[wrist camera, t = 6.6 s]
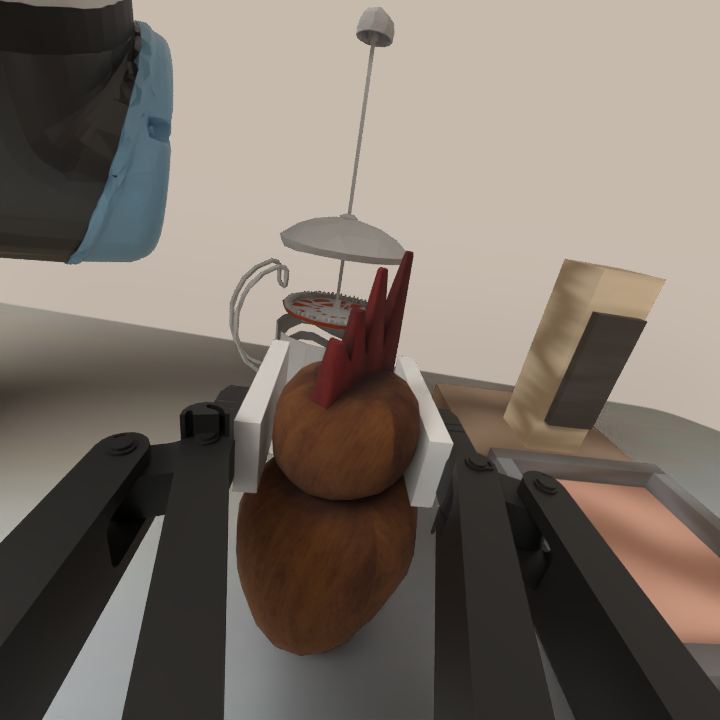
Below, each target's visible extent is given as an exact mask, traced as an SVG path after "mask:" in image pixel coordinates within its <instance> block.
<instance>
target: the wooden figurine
mask: <svg viewBox="0 0 720 720" xmlns="http://www.w3.org/2000/svg"><path fill="white" fill-rule="evenodd" d="M412 261H413V252H411V251H406V252H405V254H404V256H403V258H402V261H401V264H400V266H399V269H398V271H397V274H396V277H395V279H394V282H393V284H392V287H391V289H390V292H389V295H388V297H387V300H386V294H387V278H388V269H386V268H383V267H380V268H379V269H378V270H377V274H376V277H375V281H374V284H373V287H372V290H371V293H370V296H369V300H368V303H367V306H366V309H365V310H363V309H360V308H357V307H353V308H352V309H351V312H350V315H349V318H348V322H347V325H346V329H345V332H344V335H343V339H342V341H340V340H338V339H335V338H330V340H329V341H328V344H327V347H326V350H325V353H324V356H323V359H322V361H318V362H314V363H311V364H309V365H307V366H305V367H303V368H301V369H300V370H299V371H298V372H297V373H296V374H295V375H294V377H293V378H292V379H291V380H290V381H289V382H288V383H287V384H286V385H285V386H284V388H283V390H282V392H281V394H280V396H279V399H278V401H277V403H276V408H275V415H274V422H273V432H272V445H273V454H274V457H273V458H272V459H270V460H269V461H268V462H267V463H265V466H264V469H263V473H262V476H261V480H260V483H259V487H258V490H257V493H247V492H244V494H243V496H242V499H241V501H240V503H239V512H238V520H237V542H236V554H237V569H238V573H239V577H240V582H241V586H242V589H243V591H244V594H245V597H246V599H247V602H248V605H249V608H250V610H251V613H252V615H253V618H254V620H255V622H256V625H257V626H258V627H259V628H260V630H261V631H262V632H263V633H264V634H265V635H266V637H267V638H268V639H269V640H270V641H271V642H272V644H273V645H274V646H276V647H277V648H279V649H282V650H285V651H288V652H291V653H294V654H297V655H300V656H304V655H310V654H317V653H323V652H326V651H328V650H330V649H333V648H335V647H337V646H339V645H341V644H343V643H345V642H346V641H347V640H348V639H349V638H351V637H352V636H353V635H354V634H355V633H356V632H357V631H358V630H359V629H360V628H361V627H362V626H364V625H365V624H366V623H367V622H369V621H370V620H371V619H372V618H373V617H374V615H375V614H376V613H377V612H378V611H379V610H380V609H381V607H382V606H383V605H384V603H385V602H386V601H387V600H388V598H389V597H390V596H391V594H392V593H393V592H394V590H395V589H396V588H397V587H398V585H399V584H400V583H401V581H402V580H403V579H404V577H405V576H406V575H407V572H408V569H409V566H410V564H411V561H412V558H413V555H414V546H415V538H416V525H417V507H416V506H411V505H410V501H409V497H408V492H407V488H406V483H405V479H404V475H403V473H404V472H405V470H406V469H407V467H408V466H409V464H410V463H411V461H412V458H413V456H414V453H415V450H416V447H417V442H418V437H419V432H420V411H419V402H418V400H417V398H416V396H415V395H414V393H413V391H412V390H411V388H410V387H409V385H408V384H407V382H406V381H405V380H404V379H402V378H401V377H400V376H398V375H397V374H395V373H394V372H393V370H394V364H395V359H396V354H397V348H398V343H399V337H400V331H401V326H402V320H403V314H404V308H405V302H406V296H407V290H408V284H409V279H410V273H411V267H412Z"/></svg>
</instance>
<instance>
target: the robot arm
mask: <svg viewBox="0 0 720 720" xmlns="http://www.w3.org/2000/svg"><path fill="white" fill-rule="evenodd" d="M172 112H173V70H172V59H171V54H170V49H169V46H168V43H167V42H166V40H165V39H164V38H163V37H162V36H160V35H159V34H157V33H156V32H154V31H153V30H152V29H151V27H150V26H149V25H148V24H147V23H144V22H141V21H136V20H135V21H133V9H132V0H0V258H12V259H26V260H40V261H55V262H64V263H65V264H79V263H81V262H82V261H86V262H132V261H136V260H139V259H141V258H144V257H146V256H148V255H149V254H150V253H151V252H152V251H153V250H154V249H155V247H156V245H157V243H158V241H159V238H160V235H161V231H162V226H163V221H164V214H165V207H166V200H167V191H168V182H169V171H170V154H171V148H170V141H169V136H170V134H171V119H172ZM289 348H290V342H289V341H281V340H273V342H272V344H271V346H270V348H269V350H268V352H267V354H266V356H265V358H264V360H263V362H262V364H261V366H260V368H259V370H258V372H257V375H256V377H255V379H254V381H253V383H252V385H251V387H242V386H234V385H230V386H229V387H227V388H225V389H224V390H222V391H221V392H220V393H219V395H218V397H217V398H216V400H215V401H214V403H212V402H204V403H197V404H194V405H191V406H188V407H187V408H185V409H184V410H183V411H182V412H181V414H180V430H181V440H180V441H177V442H173V443H167V444H158V445H150V442H149V439H148V438H147V437H146V436H145V435H143V434H139V433H135V432H129V433H120V434H115V435H112V436H109V437H107V438H105V439H103V440H101V441H100V442H99V443H97V444H96V445H95V446H94V447H93V448H92V449H91V450H90V451H89V452H88V453H87V454H86V455H85V456H84V457H83V458H82V459H81V460H80V461H79V462H78V463H77V464H76V465H75V467H74V468H73V469H72V470H71V471H70V472H69V473H68V474H67V475H66V476H65V477H64V478H63V479H62V480H61V481H60V482H59V483H58V484H57V485H56V486H55V487H54V488H53V489H52V490H51V491H50V492H49V493H48V494H47V495H46V496H45V498H44V499H43V500H42V501H41V502H40V503H39V504H38V505H37V506H36V507H35V508H34V509H33V510H32V511H31V512H30V513H29V514H28V515H27V516H26V517H25V518H24V519H23V520H22V521H21V522H20V523H19V524H18V525H17V526H16V527H15V529H14V530H13V531H12V532H11V533H10V534H9V535H8V536H7V537H6V538H5V539H4V540H3V541H2V542H1V543H0V720H42V719H43V717H44V715H45V713H46V712H47V710H48V708H49V706H50V705H51V703H52V701H53V699H54V697H55V696H56V694H57V692H58V690H59V688H60V687H61V685H62V683H63V681H64V679H65V678H66V676H67V674H68V672H69V671H70V669H71V667H72V665H73V663H74V662H75V660H76V658H77V656H78V654H79V653H80V651H81V649H82V647H83V645H84V644H85V642H86V640H87V638H88V637H89V635H90V633H91V631H92V629H93V628H94V626H95V624H96V622H97V620H98V619H99V617H100V615H101V613H102V612H103V610H104V608H105V606H106V604H107V603H108V601H109V599H110V597H111V595H112V594H113V592H114V590H115V588H116V586H117V585H118V583H119V581H120V579H121V578H122V576H123V574H124V572H125V570H126V569H127V567H128V565H129V563H130V561H131V560H132V558H133V556H134V554H135V552H136V551H137V549H138V547H139V545H140V544H141V542H142V540H143V538H144V536H145V535H146V533H147V531H148V529H149V527H150V526H151V524H152V522H153V520H154V518H155V516H160V515H165V517H164V522H163V526H162V531H161V536H160V540H159V545H158V550H157V555H156V559H155V564H154V569H153V573H152V578H151V583H150V588H149V592H148V597H147V602H146V606H145V611H144V616H143V621H142V625H141V630H140V635H139V639H138V644H137V649H136V654H135V658H134V663H133V668H132V672H131V677H130V682H129V687H128V691H127V696H126V701H125V705H124V710H123V715H122V720H224V690H225V644H226V597H227V551H228V505H229V489H230V486H231V483H232V481H233V491H235V492H247V493H257V490H258V487H259V483H260V480H261V476H262V473H263V469H264V466H265V462H266V459H267V455H268V452H269V448H270V445H271V441H272V432H273V422H274V415H275V408H276V403H277V401H278V399H279V396H280V394H281V392H282V390H283V388H284V386H285V385H286V383H287V371H288V360H289ZM395 374H397V375H398V376H400V377H401V378H402V379H404V380H405V381H406V382H407V384H408V385H409V387H410V388H411V390H412V391H413V393H414V395H415V396H416V398H417V400H418V402H419V411H420V432H419V437H418V442H417V447H416V450H415V453H414V456H413V458H412V461H411V463H410V464H409V466H408V467H407V469H406V470H405V472H404V473H403V475H404V479H405V483H406V488H407V492H408V497H409V501H410V505H411V506H416V507H428V508H432V506H433V503H434V500H435V497H436V495H437V498H438V501H439V505H440V507H439V509H438V512H437V515H436V518H435V521H434V524H433V527H432V530H431V534H434V532H435V530H436V577H435V666H434V720H555V717H554V713H553V709H552V704H551V700H550V696H549V691H548V687H547V683H546V678H545V674H544V670H543V665H542V661H541V657H540V652H539V648H538V644H537V639H536V635H535V631H534V626H535V628H536V630H537V633H538V635H539V637H540V640H541V642H542V644H543V646H544V649H545V651H546V653H547V656H548V658H549V660H550V662H551V665H552V667H553V669H554V672H555V674H556V676H557V678H558V681H559V683H560V685H561V688H562V690H563V692H564V694H565V697H566V699H567V701H568V703H569V706H570V708H571V710H572V713H573V715H574V717H575V719H576V720H720V692H719V690H718V689H717V688H716V686H715V685H714V684H713V682H712V681H711V680H710V679H709V677H708V676H707V675H706V673H705V672H704V671H703V669H702V668H701V667H700V665H699V664H698V663H697V661H696V660H695V659H694V657H693V656H692V655H691V653H690V652H689V651H688V649H687V648H686V647H685V646H684V644H683V643H682V642H681V640H680V639H679V638H678V636H677V635H676V634H675V632H674V631H673V630H672V628H671V627H670V626H669V624H668V623H667V622H666V620H665V619H664V618H663V616H662V615H661V614H660V612H659V611H658V610H657V609H656V607H655V606H654V605H653V603H652V602H651V601H650V599H649V598H648V597H647V595H646V594H645V593H644V591H643V590H642V589H641V587H640V586H639V585H638V583H637V582H636V581H635V579H634V578H633V577H632V576H631V574H630V573H629V572H628V570H627V569H626V568H625V566H624V565H623V564H622V562H621V561H620V560H619V558H618V557H617V556H616V554H615V553H614V552H613V550H612V549H611V548H610V546H609V545H608V544H607V543H606V541H605V540H604V539H603V537H602V536H601V535H600V533H599V532H598V531H597V529H596V528H595V527H594V525H593V524H592V523H591V521H590V520H589V519H588V517H587V516H586V515H585V513H584V512H583V511H582V509H581V508H580V507H579V506H578V504H577V503H576V502H575V500H574V499H573V498H572V496H571V495H570V494H569V492H568V491H567V490H566V488H565V487H564V486H563V485H562V484H561V483H560V482H559V481H557V480H556V479H555V478H553V477H552V476H550V475H548V474H546V473H543V472H539V471H527V472H525V473H524V475H523V477H522V479H521V480H519V479H516V478H513V477H510V476H507V475H504V474H501V473H498V470H497V468H496V466H495V464H494V463H493V462H492V461H491V460H490V459H489V458H487V457H485V456H484V455H482V454H479V453H477V452H476V450H475V448H474V446H473V444H472V443H471V441H470V439H469V437H468V435H467V433H465V432H466V431H465V430H464V428H463V427H462V424H461V422H460V420H459V418H458V417H457V416H456V415H455V414H454V413H453V412H451V411H450V410H449V409H440V408H437V407H436V405H435V403H434V401H433V399H432V396H431V394H430V392H429V390H428V388H427V386H426V384H425V381H424V379H423V377H422V375H421V373H420V371H419V368H418V366H417V364H416V362H415V360H414V358H410V357H403V356H398V360H397V364H396V368H395ZM545 540H546V541H547V543H548V545H549V547H550V549H551V550H550V551H549V550H548V549H547V547H546V546H545V544H544V541H545ZM532 621H533V622H532ZM533 624H534V626H533Z"/></svg>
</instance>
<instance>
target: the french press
mask: <svg viewBox="0 0 720 720" xmlns="http://www.w3.org/2000/svg"><path fill="white" fill-rule="evenodd" d="M356 35H357V38H358V39H359V40H360V41H362V42H364V43H365V44H368V45H371V50H370V56H369V64H368V71H367V78H366V86H365V93H364V100H363V108H362V115H361V122H360V129H359V137H358V144H357V151H356V158H355V166H354V173H353V180H352V187H351V194H350V202H349V209H348V214H343V215H340V217H323V218H314V219H310V220H307V221H303V222H300V223H298V224H296V225H294V226H292V227H290V228H289V229H287V230H285V231H283V232H281V233H280V235H281V239H282V241H283V244H284V246H287V247H289V248H291V249H293V250H296V251H300V252H305V253H310V254H314V255H319V256H324V257H329V258H335V259H340V260H341V267H340V274H339V282H338V289H337V293H336V294H335V295H334V293H333V292H332V293H331V294H330V293H329V292H328V293H327V294H326V293H325V292H323V293H321V291H318V292H317V291H314V292H312V291H311V292H310V291H307V292H306V291H304V292H300V293H294V294H293V293H291V294H290V295H288V297H286V298H285V299H284V300H283V305H284V307H285V309H286V311H287V312H288V314H285V315H283V316H281V317H280V318H279V319H278V320H277V325H276V339H275V340H281V341H289V342H290V348H289V360H288V371H287V383H288V382H289V381H290V380H291V379H292V378H293V377H294V375H295V374H296V373H297V372H298V371H299V370H300V369H301V368H303V367H305V366H307V365H309V364H311V363H314V362H318V361H322V359H323V356H324V353H325V350H326V348H321V347H317V346H313V345H309V344H306V343H303V342H301V341H298V340H299V339H305V340H313V341H315V342H317V343H318V344H320V345H322V346H324V347H327V344H328V340H326V339H324V338H322V337H320V336H319V335H317V334H315V333H313V332H305V331H299V332H297V333H295V334H293V335H290V336H287V335H286V334H285V332H287V330H288V329H289V328H291V327H294V326H296V325H298V324H300V323H305V324H312V325H316V326H317V327H319V328H321V329H322V330H324V331H326V332H328V333H330V334H331V335H334V336H336V337H338V338H340V339H343V335H344V332H345V329H346V325H347V322H348V318H349V315H350V312H351V309H352V308H353V307H357V308H360V309H363V310H365V309H366V306H367V303H368V302H366V300H364V301H362V299H360V300H359V299H358V298H357V299H356V298H355V296H354V297H353V298H351V297H350V296H349V297H346V295H345V296H342V294H340V288H341V280H342V274H343V266H344V260H346V261H353V262H361V263H369V264H382V265H383V264H384V265H400V264H401V261H402V258H403V256H404V254H405V252H406V251H405V250H404V249H403V248H402V246H401V245H400V244H399V243H398V242H397V241H396V240H395V239H394V238H392V237H391V236H389V235H388V234H386V233H385V232H383V231H382V230H380V229H378V228H376V227H373V226H371V225H368V224H365V223H363V222H360V221H357V220H358V219H357V218H356V217H355V216H354V215H351V210H352V203H353V196H354V189H355V182H356V174H357V168H358V161H359V153H360V146H361V139H362V133H363V125H364V119H365V111H366V104H367V97H368V90H369V83H370V76H371V69H372V62H373V55H374V48H375V47H386V46H390V45H391V44H392V41H393V37H394V23H393V21H392V20H391V19H390V17H389V15H388V14H387V13H386V12H385V11H384V10H383V9H382V8H381V7H374V8H368V9H367V10H366V11H364V13H363V15H362V16H361V18H360V20H359V23H358V26H357V34H356ZM272 262H273V263H275V264H277V265H275V266H273V267H271V268H269V269H267V270H264V271H262V272H260V273H259V274H258V275H257V276H256V277H255V278H254V279H253V280H252V281H251V282H250V283H249V284H248V285H247V287H246V288H245V290H244V292H243V293H242V296H241V298H240V301H239V303H238V306H237V308H236V311H235V313H234V306H235V303H236V300H237V297H238V294H239V292H240V290H241V288H242V287H243V285H244V283H245V281H246V279H248V278H249V277H250V276H251V275H252V274H253V273H254V272H255V271H256V270H257V269H259V268H261V267H263V266H266V265H268V264H270V263H272ZM281 269H282V270H284V282H282V280H281ZM274 270H277V273H278V274H277V280H278V283H279V285H280V286H282V287H283V288H286V287H287V285H288V280H289V270H288V268H287V267H286V266H285V265H281V263H280V261H279V260H277V259H273V258H271V259H269V260H267V261H264V262H262V263H260V264H258V265H255V266H254V267H253V268H252V269H251V270H249V271H248V272H247V273H246V274H245V275H244V276H243V277H242V278H241V280H240V282H239V284H238V285H237V287H236V289H235V291H234V293H233V296H232V299H231V302H230V329H231V332H232V336H233V340H234V341H235V343H236V345H237V348H238V351H239V353H240V355H241V357H242V359H243V361H244V363H246V364H247V365H248V366H249V367H251V368H252V369H253V370H254V371H256V372H258V370H259V369H258V368H256V367H255V366H254V365H253V364H252V363H251V362H250V361H248V359H249V360H251V361H252V362H255V363H257V364H260V365H261V364H262V362H261V361H259V360H257V359H254V358H253V357H252V356H250V355H249V354H248V353H247V352H246V351H245V350H243V348H242V345H241V342H240V339H239V336H238V328H239V313H240V310H241V308H242V305H243V302H244V299H245V297H246V295H247V293H248V292H249V290H250V289H251V288H252V287H253V286H254V285H255V284H256V283H257V282H258V281H259V280H260V279H261V278H262V277H263V276H264V275H265V274H268V273H270V272H272V271H274ZM319 292H320V293H319ZM324 293H325V294H324ZM247 358H248V359H247ZM287 383H286V384H287ZM269 452H270V453H272V454H273V445H272V441H271V445H270V448H269Z"/></svg>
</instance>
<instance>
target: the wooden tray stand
mask: <svg viewBox="0 0 720 720" xmlns="http://www.w3.org/2000/svg"><path fill="white" fill-rule="evenodd" d="M665 281H666V280H665V279H661V278H657V277H653V276H649V275H644V274H641V273H636V272H632V271H628V270H624V269H620V268H615V267H608V266H603V265H597V264H592V263H586V262H580V261H574V260H568V259H565V260H564V262H563V265H562V268H561V270H560V273H559V275H558V278H557V280H556V283H555V285H554V288H553V291H552V293H551V296H550V298H549V301H548V303H547V306H546V309H545V311H544V314H543V316H542V319H541V322H540V324H539V327H538V329H537V332H536V334H535V337H534V340H533V342H532V345H531V347H530V350H529V352H528V355H527V357H526V360H525V363H524V365H523V368H522V370H521V373H520V376H519V378H518V381H517V383H516V386H515V388H514V391H513V392H507V391H499V390H491V389H483V388H475V387H467V386H459V385H451V384H443V383H436V386H435V389H434V393H433V396H432V399H433V401H434V403H435V405H436V407H437V408H440V409H449V410H450V411H451V412H453V413H454V414H455V415H456V416H457V417H458V418H459V420H460V422H461V424H462V427H463V428H464V430H465V431H466V432H465V433H467V435H468V437H469V439H470V441H471V443H472V444H473V446H474V448H475V450H476V452H477V453H479V454H482V455H484V456H485V457H487V458H489V459H490V460H491V461H492V462H493V463H494V464H495V466H496V468H497V470H498V473H501V474H504V475H507V476H510V477H513V478H516V479H519V480H521V479H522V477H523V475H524V473H525V472H527V471H539V472H543V473H546V474H548V475H550V476H552V477H553V478H555V479H556V480H557V481H559V482H560V483H561V484H562V485H563V486H564V487H565V488H566V490H567V491H568V492H569V494H570V495H571V496H572V498H573V499H574V500H575V502H576V503H577V504H578V506H579V507H580V508H581V509H582V511H583V512H584V513H585V515H586V516H587V517H588V519H589V520H590V521H591V523H592V524H593V525H594V527H595V528H596V529H597V531H598V532H599V533H600V535H601V536H602V537H603V539H604V540H605V541H606V543H607V544H608V545H609V546H610V548H611V549H612V550H613V552H614V553H615V554H616V556H617V557H618V558H619V560H620V561H621V562H622V564H623V565H624V566H625V568H626V569H627V570H628V572H629V573H630V574H631V576H632V577H633V578H634V579H635V581H636V582H637V583H638V585H639V586H640V587H641V589H642V590H643V591H644V593H645V594H646V595H647V597H648V598H649V599H650V601H651V602H652V603H653V605H654V606H655V607H656V609H657V610H658V611H659V612H660V614H661V615H662V616H663V618H664V619H665V620H666V622H667V623H668V624H669V626H670V627H671V628H672V630H673V631H674V632H675V634H676V635H677V636H678V638H679V639H680V640H681V642H682V643H683V644H684V646H685V647H686V648H687V649H688V651H689V652H690V653H691V655H692V656H693V657H694V659H695V660H696V661H697V663H698V664H699V665H700V667H701V668H702V669H703V671H704V672H705V673H706V675H707V676H708V677H709V679H710V680H711V681H712V682H713V684H714V685H715V686H716V688H717V689H718V690H719V692H720V519H719V518H718V517H717V516H716V515H714V514H713V513H712V512H711V511H710V510H708V509H707V508H706V507H705V506H704V505H703V504H701V503H700V502H699V501H698V500H697V499H695V498H694V497H693V496H692V495H691V494H689V493H688V492H687V491H686V490H685V489H683V488H682V487H681V486H680V485H679V484H677V483H676V482H675V481H674V480H673V479H671V478H670V477H669V476H668V475H667V474H665V473H664V472H663V471H662V470H661V469H660V468H658V467H657V466H656V465H655V464H647V463H637V462H633V461H632V460H631V459H630V458H629V457H628V456H627V455H626V454H624V453H623V452H622V451H621V450H620V449H619V448H618V447H617V446H615V445H614V444H613V443H612V442H611V441H610V440H609V439H608V438H606V437H605V436H604V435H603V434H602V433H601V432H600V431H599V430H597V429H596V428H595V427H594V424H595V422H596V420H597V418H598V416H599V414H600V412H601V410H602V408H603V406H604V404H605V402H606V401H607V399H608V397H609V395H610V393H611V391H612V389H613V387H614V385H615V383H616V381H617V379H618V377H619V376H620V374H621V372H622V370H623V368H624V366H625V364H626V362H627V360H628V358H629V356H630V354H631V352H632V350H633V349H634V346H635V345H636V343H637V341H638V339H639V337H640V335H641V333H642V331H643V329H644V327H645V325H646V323H647V321H645V319H646V318H647V316H648V314H649V312H650V310H651V308H652V306H653V304H654V302H655V300H656V298H657V296H658V294H659V292H660V290H661V288H662V286H663V285H664V283H665ZM544 544H545V546H546V547H547V549H548V550H549V551H550V550H551V549H550V547H549V545H548V543H547V541H546V540H545V541H544ZM532 622H533V621H532ZM533 626H534V624H533ZM534 628H535V626H534ZM535 630H536V628H535ZM536 632H537V630H536ZM537 634H538V633H537ZM538 637H539V635H538ZM539 639H540V637H539ZM540 641H541V640H540ZM541 643H542V642H541ZM542 645H543V644H542ZM543 648H544V646H543ZM544 650H545V649H544ZM545 652H546V651H545ZM546 654H547V653H546ZM548 659H549V658H548ZM549 661H550V660H549ZM550 663H551V662H550ZM553 670H554V669H553Z"/></svg>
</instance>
